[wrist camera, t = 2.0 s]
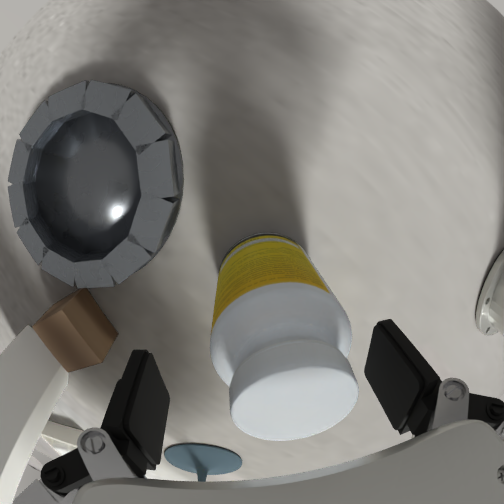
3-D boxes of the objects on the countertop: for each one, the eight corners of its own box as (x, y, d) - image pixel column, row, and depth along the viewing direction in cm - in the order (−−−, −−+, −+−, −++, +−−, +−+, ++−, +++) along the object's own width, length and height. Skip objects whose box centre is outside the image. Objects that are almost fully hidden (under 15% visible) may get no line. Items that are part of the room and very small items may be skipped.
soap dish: (84, 430, 26) (78, 446, 24) (120, 469, 31) (117, 482, 28) (42, 418, 26) (36, 431, 23) (80, 458, 31) (76, 470, 28)
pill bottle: (204, 250, 18) (164, 376, 7) (294, 215, 18) (375, 307, 7) (240, 324, 20) (244, 461, 9) (320, 295, 20) (383, 418, 9)
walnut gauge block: (85, 285, 19) (61, 309, 15) (118, 332, 20) (102, 362, 17) (54, 303, 19) (31, 326, 16) (84, 345, 21) (67, 372, 17)
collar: (175, 62, 14) (168, 51, 12) (197, 271, 19) (193, 285, 17) (17, 120, 13) (2, 119, 11) (44, 282, 18) (32, 293, 16)
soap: (109, 464, 29) (106, 477, 27) (91, 462, 30) (87, 474, 27) (72, 435, 26) (66, 449, 24) (55, 434, 27) (49, 446, 24)
